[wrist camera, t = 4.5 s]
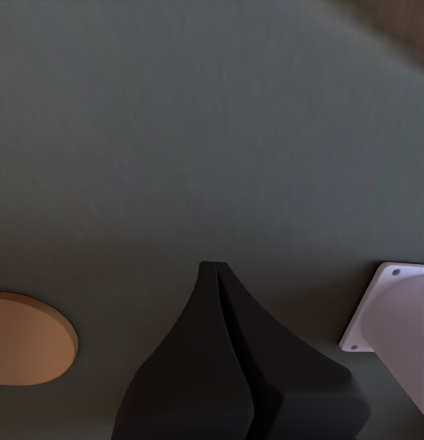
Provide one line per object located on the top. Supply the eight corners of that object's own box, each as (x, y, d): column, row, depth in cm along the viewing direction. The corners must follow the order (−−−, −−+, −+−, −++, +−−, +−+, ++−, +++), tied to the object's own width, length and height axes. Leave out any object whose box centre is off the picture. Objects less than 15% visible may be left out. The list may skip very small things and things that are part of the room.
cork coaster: (71, 294, 14) (66, 301, 13) (83, 377, 17) (80, 385, 17) (-80, 287, 13) (-92, 295, 12) (-37, 377, 16) (-45, 386, 16)
